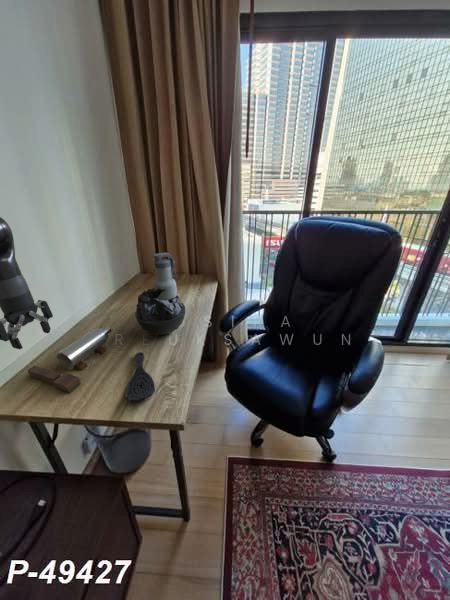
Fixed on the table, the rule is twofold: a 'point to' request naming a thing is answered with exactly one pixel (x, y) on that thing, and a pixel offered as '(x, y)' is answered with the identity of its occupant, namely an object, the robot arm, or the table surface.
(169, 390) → the table surface
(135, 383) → the hairbrush
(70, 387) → the scrub brush
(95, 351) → the steel bottle
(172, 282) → the water bottle
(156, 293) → the bin with black bag
